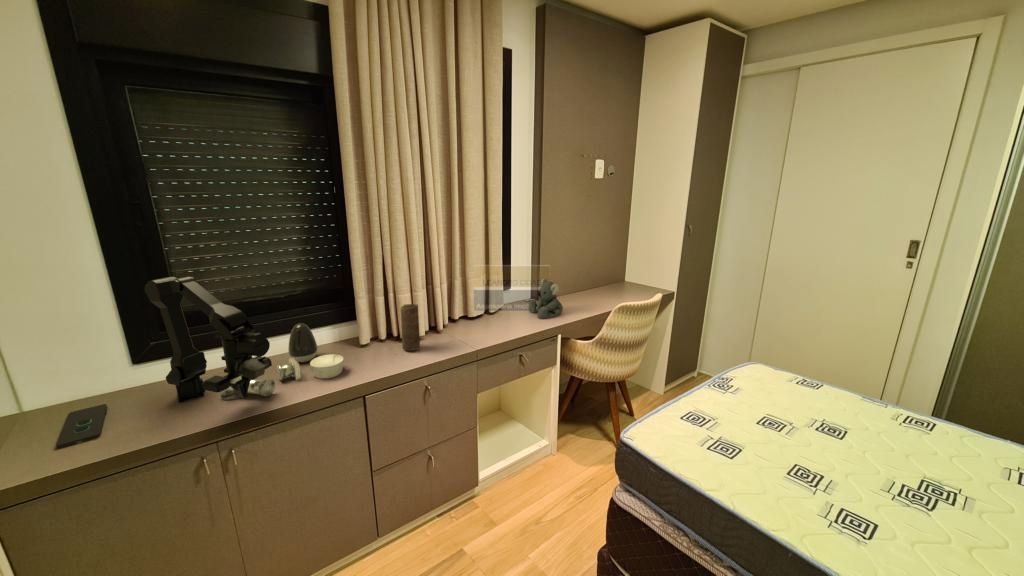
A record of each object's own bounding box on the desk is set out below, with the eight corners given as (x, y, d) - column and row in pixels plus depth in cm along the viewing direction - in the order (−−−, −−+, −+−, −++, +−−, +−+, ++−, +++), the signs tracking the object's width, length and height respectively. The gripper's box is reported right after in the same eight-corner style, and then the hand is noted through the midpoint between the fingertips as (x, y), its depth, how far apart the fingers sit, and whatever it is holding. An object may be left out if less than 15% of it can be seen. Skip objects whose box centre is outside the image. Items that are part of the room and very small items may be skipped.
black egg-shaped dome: (286, 366, 149) (281, 329, 145) (293, 355, 159) (288, 320, 155) (315, 364, 152) (311, 327, 148) (320, 353, 162) (316, 318, 158)
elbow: (221, 395, 127) (218, 378, 125) (234, 387, 132) (231, 370, 131) (264, 399, 126) (261, 381, 124) (276, 391, 131) (273, 373, 129)
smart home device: (54, 445, 101) (67, 412, 115) (55, 451, 101) (69, 417, 116) (99, 433, 106) (107, 402, 121) (101, 438, 107) (108, 407, 121)
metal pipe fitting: (223, 402, 124) (220, 385, 123) (219, 393, 130) (215, 376, 128) (301, 379, 140) (299, 364, 138) (294, 372, 145) (292, 357, 144)
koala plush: (526, 310, 222) (527, 277, 217) (553, 307, 229) (555, 275, 224) (540, 320, 207) (541, 284, 202) (569, 316, 214) (571, 282, 209)
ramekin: (350, 371, 147) (349, 358, 145) (323, 383, 137) (321, 369, 136) (333, 364, 152) (332, 351, 151) (305, 374, 143) (303, 361, 142)
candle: (415, 353, 163) (413, 308, 158) (399, 352, 164) (396, 307, 159) (423, 346, 170) (421, 303, 165) (407, 345, 171) (405, 301, 166)
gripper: (227, 368, 107) (236, 418, 111) (282, 343, 124) (288, 387, 128) (196, 363, 110) (206, 412, 114) (254, 339, 127) (261, 382, 131)
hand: (243, 397), depth 122 cm, fingers closed
